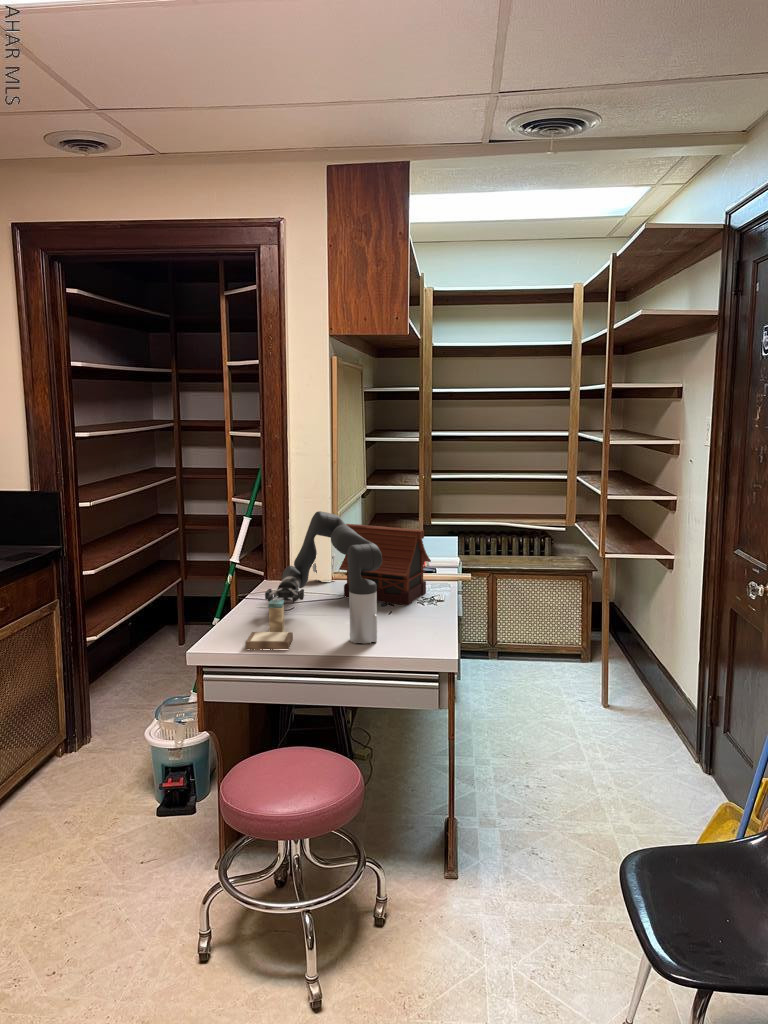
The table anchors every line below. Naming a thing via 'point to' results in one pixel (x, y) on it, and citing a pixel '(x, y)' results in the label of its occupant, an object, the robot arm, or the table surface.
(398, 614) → the table surface
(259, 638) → the dock
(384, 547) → the house
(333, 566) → the cup
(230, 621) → the table surface
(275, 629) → the teal topped tan block
